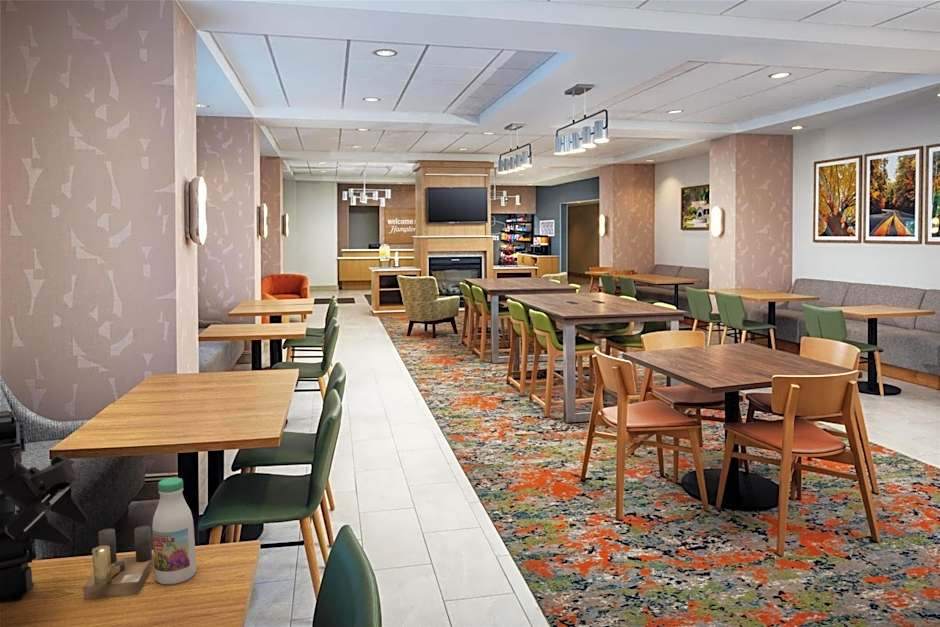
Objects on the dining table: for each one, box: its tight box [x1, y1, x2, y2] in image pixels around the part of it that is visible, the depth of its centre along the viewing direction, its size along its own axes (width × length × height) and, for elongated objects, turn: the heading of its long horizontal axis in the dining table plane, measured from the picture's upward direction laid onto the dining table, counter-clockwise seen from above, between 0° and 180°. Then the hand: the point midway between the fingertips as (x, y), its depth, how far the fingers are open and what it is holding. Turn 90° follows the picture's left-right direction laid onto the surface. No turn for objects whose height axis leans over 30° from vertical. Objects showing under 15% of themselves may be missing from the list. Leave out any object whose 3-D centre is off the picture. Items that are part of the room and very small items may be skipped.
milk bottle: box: [151, 477, 197, 585], centre depth 142 cm, size 8×8×20 cm
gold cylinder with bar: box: [91, 545, 120, 585], centre depth 136 cm, size 6×3×6 cm, turn 175°
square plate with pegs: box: [82, 525, 154, 600], centre depth 140 cm, size 10×12×9 cm
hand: (78, 532), depth 133 cm, fingers open, 9 cm apart
